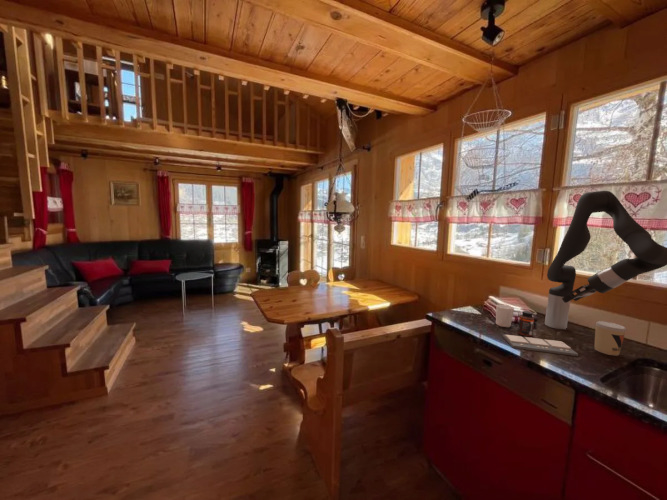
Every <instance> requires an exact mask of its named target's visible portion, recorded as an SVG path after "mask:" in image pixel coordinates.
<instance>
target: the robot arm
mask: <svg viewBox="0 0 667 500" xmlns="http://www.w3.org/2000/svg"><path fill="white" fill-rule="evenodd" d="M603 212H604V213H605V214H607V215H608V216H610V218H611V219H612V222H613V223H612V227H613V231H614V233H615V234H616V235H617V236H618V237H619V238H620V240H622V241H623V242H624V243H625V244H627V246H628V248H629V249H630V251H631V253H632V254H633V255H634V256H635V258H625V259H622V260H619V261H618V262H616V263H614V264H612V265H610V266H607V267H606V268H604V269H602V270H600V271H598V272H596V273H595V274H593V275H591V276H589V277H588V278H587V284H583V285H581V286H579V287H577V288H576V289H574V286H575V281H576V276H577V271H576V268H575V266H573V265H565V264H567V262H569V261H571V260H572V259H574V258H576V257H577V256H579V255H580V254H581V253H583V252H584V251H585V250H586V248H587V246H588V244H589V243H590V240H591V233H590V230H589V228H588V221H589V219H590V216H591V215H592V214H595V213H603ZM666 266H667V247H666V246H664V245H661V244H659V243H658V242H656V241H655V240H654V239H653V238H652V235H651V233H650V232H648V230H646V229H645V228H644V227H643V226H642V225H641V224H639V223H638V222H637V221H636V220H635V219H634V218H633V217H632V216H631V214H629V212H628V211H627V209H626V207H624V205H623V204H622V202H621V201H620V200H619V198H617V196H616V194H614V193H613V192H611V191H610V190H596V191H595V190H594V191H588V192H585V193H583V194H581V195H580V197H579V198H578V200H577V203H576V206H575V210H574V212H573V216H572V219H571V222H570V223H569V227H568V229H567V231H566V233H565V234H564V237H563V240H562V241H561V244H560V247H559V249H558V252H557V253H556V255H555V257H554V258H553V260H552V262H551V263H550V265H549V266H548V269H547V274H546V277H547V280H549V281H551V282H553V283H561V284H560V285H557V286H554V287H550V288H549V289H548V296H547V303H546V311H545V318H544V325H545V326H547V327H549V328H552V329H556V330H567V329H568V321H569V313H570V307H571V301H574V302H576V301H579V300H581V299H583V298H587V297H589V296H592V295H593V294H596V293H597V292H598V293H600V294H605V293H607V292H609V291H612V290H614V289H615V288H617V287H620V286H621V285H623V284H624V283H626V282H628V281H630V280H632V279H634V278H635V277H638V276H640V275H641V274H646V273H649V272H653V271H656V270H659V269H662V268H663V267H664V268H665V267H666ZM566 328H567V329H566Z"/></svg>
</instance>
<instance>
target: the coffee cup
mask: <svg viewBox="0 0 667 500" xmlns="http://www.w3.org/2000/svg"><path fill="white" fill-rule="evenodd" d="M626 331H627V329H626V327H625V326H623V325H622V324H618V323H614V322H609V321H603V320H598V321H596V322H595V333H594V350H595V351H597V352H599V353H601V354H605V355H609V356H614V357H617V356H619V355H620V353H621V349H622V345H623V342H624V338H625V334H626Z"/></svg>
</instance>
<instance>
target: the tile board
mask: <svg viewBox="0 0 667 500" xmlns="http://www.w3.org/2000/svg"><path fill="white" fill-rule="evenodd" d="M502 337H503V339H504V340H505V341H506V342H507V343H508V344H509V345H510V347H512V349H513V348H514V349H519V350H528V351H535V352H544V353H551V354H558V355H565V356H566V355H567V356H572V357H579V353H578V352H576V351H575V350H573V349H572V348H571V346H569V345H567V344H566V343H565V342H563V341H562V340H561V341H560V340H555V339H554V340H553V339H546V338H545V339H542V338H538V337H531V336H530V337H528V336H523V335H513V334H502Z"/></svg>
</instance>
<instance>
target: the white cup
mask: <svg viewBox="0 0 667 500" xmlns="http://www.w3.org/2000/svg"><path fill="white" fill-rule="evenodd" d="M495 306H496V309H495V324H496V325H497V326H500V327H502V328H510V327H511V326H512V325H511V324H512V322H513V321H512V320H513V316H514V310H515V308H514V307H513V306H511V305H506V304H496V305H495Z"/></svg>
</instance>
